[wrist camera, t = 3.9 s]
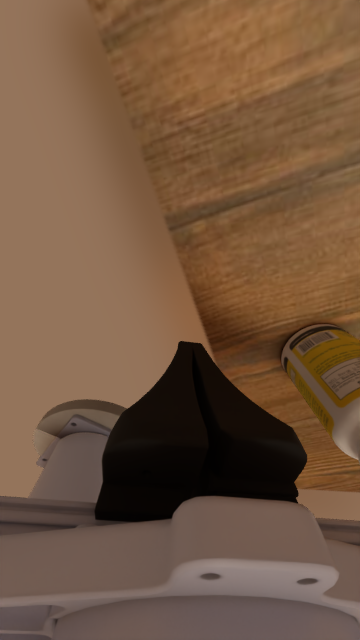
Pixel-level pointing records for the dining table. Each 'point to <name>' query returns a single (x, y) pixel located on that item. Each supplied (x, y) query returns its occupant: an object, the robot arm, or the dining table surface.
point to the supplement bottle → (328, 380)
